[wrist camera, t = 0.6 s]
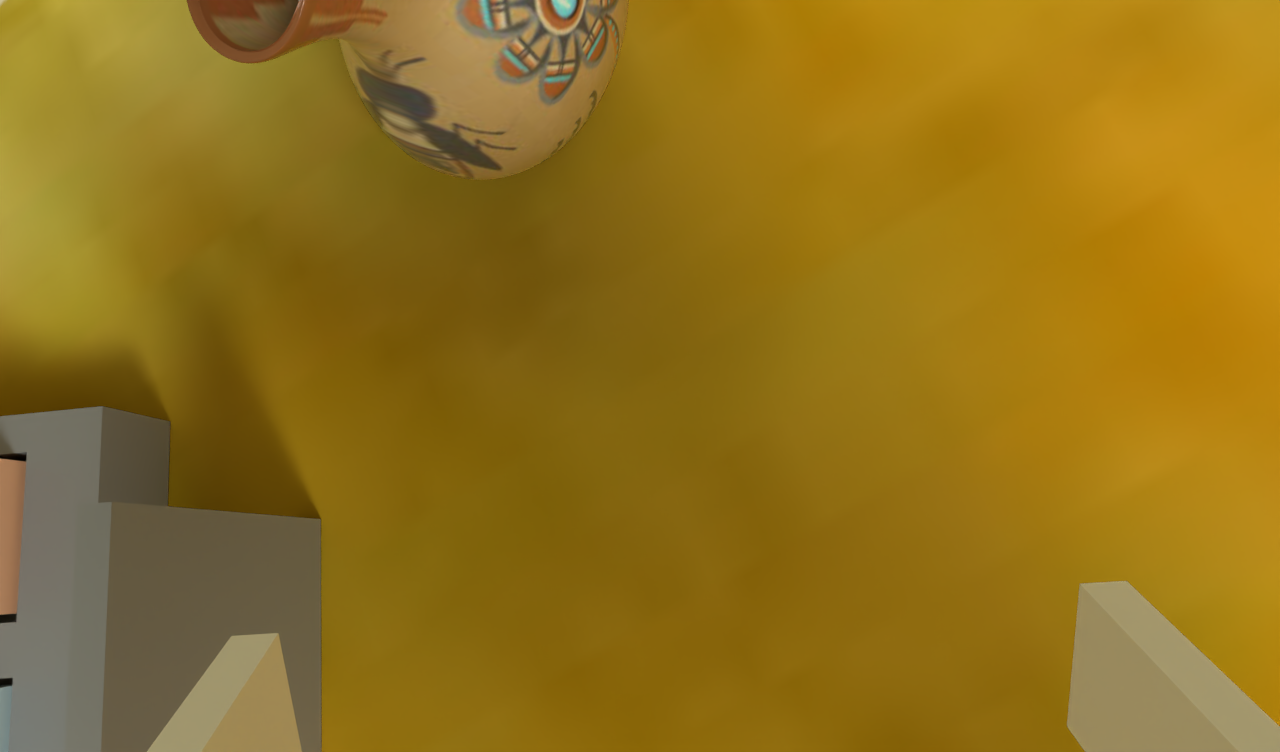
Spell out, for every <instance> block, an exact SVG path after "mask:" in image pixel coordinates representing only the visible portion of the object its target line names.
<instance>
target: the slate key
mask: <svg viewBox="0 0 1280 752" xmlns="http://www.w3.org/2000/svg"><path fill="white" fill-rule="evenodd" d="M11 700H12V684H8V685H0V752H8V748H9V732H10V716H11Z"/></svg>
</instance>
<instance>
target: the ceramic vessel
mask: <svg viewBox="0 0 1280 752" xmlns="http://www.w3.org/2000/svg"><path fill="white" fill-rule="evenodd" d="M187 3H188V7H189V11H190V14H191V16H192V19H193V21H194V23H195V25H196V27H197V29H198V31H199V32H200V34H201V35H202V37H203V38H204V39H205V41H206V42H207V43H208V44H209V45H210V46H211V47H212V48H213V49H214V50H216V51H217V52H218V53H220V54H221V55H223V56H225V57H227V58H229V59H231V60H234V61H237V62H242V63H261V62H266V61H269V60H272V59H275V58H278V57H280V56H282V55H285V54H287V53H289V52H292V51H294V50H296V49H298V48H301V47H303V46H306V45H309V44H312V43H315V42H319V41H324V40H330V39H339V42H340V46H341V50H342V54H343V57H344V60H345V63H346V66H347V69H348V72H349V74H350V77H351V79H352V82H353V84H354V86H355V88H356V90H357V92H358V94H359V96H360V98H361V100H362V102H363V104H364V105H365V107H366V109H367V110H368V112H369V113H370V115H371V116H372V118H373V119H374V120H375V122H376V123H377V124H378V126H379V127H380V128H381V129H382V131H383V132H384V133H385V134H386V135H387V136H388V137H389V138H390V139H391V140H392V141H393V142H394V143H395V144H396V145H397V146H398V147H399V148H400V149H402V150H403V151H404V152H405V153H407V154H408V155H409V156H411V157H412V158H414V159H415V160H417V161H418V162H420V163H422V164H423V165H425V166H427V167H429V168H431V169H433V170H436V171H438V172H441V173H444V174H447V175H450V176H454V177H458V178H464V179H473V180H488V179H498V178H503V177H508V176H512V175H515V174H518V173H521V172H523V171H526V170H528V169H530V168H533V167H535V166H536V165H538V164H540V163H542V162H543V161H545V160H547V159H548V158H550V157H551V156H552V155H554V154H555V153H556V152H558V151H559V150H560V149H561V148H563V147H564V146H565V145H566V144H567V143H568V142H569V141H570V140H571V139H572V138H573V137H574V136H575V135H576V134H577V133H578V131H579V130H580V129H581V128H582V127H583V125H584V124H585V123H586V122H587V120H588V119H589V117H590V116H591V115H592V113H593V112H594V110H595V108H596V107H597V105H598V103H599V102H600V100H601V98H602V96H603V94H604V92H605V90H606V88H607V86H608V84H609V82H610V79H611V77H612V75H613V72H614V69H615V67H616V64H617V61H618V57H619V54H620V50H621V47H622V43H623V38H624V33H625V28H626V22H627V14H628V4H629V0H187Z"/></svg>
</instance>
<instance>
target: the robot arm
mask: <svg viewBox="0 0 1280 752" xmlns="http://www.w3.org/2000/svg"><path fill="white" fill-rule="evenodd" d="M1067 727H1068V728H1069V730H1070V731H1071V733H1072V734H1073V735H1074V737H1075V738H1076V740H1077V741H1078V743H1079V744H1080V745H1081V747H1082V748H1083V750H1084V751H1085V752H1280V727H1279V726H1278V725H1277V724H1276V723H1275V722H1274V721H1273V720H1272V719H1271V718H1270V717H1269V716H1268V715H1267V714H1266V713H1265V712H1264V711H1263V710H1262V709H1260V708H1259V707H1258V706H1257V705H1256V704H1255V703H1254V702H1253V701H1252V700H1251V699H1250V698H1249V697H1248V696H1247V695H1246V694H1245V693H1244V692H1243V691H1242V690H1241V689H1240V688H1238V687H1237V686H1236V685H1235V684H1234V683H1233V682H1232V681H1231V680H1230V679H1229V678H1228V677H1227V676H1226V675H1225V674H1224V673H1223V672H1222V671H1221V670H1220V669H1219V668H1217V667H1216V666H1215V665H1214V664H1213V663H1212V662H1211V661H1210V660H1209V659H1208V658H1207V657H1206V656H1205V655H1204V654H1203V653H1202V652H1201V651H1200V650H1199V649H1198V648H1197V647H1195V646H1194V645H1193V644H1192V643H1191V642H1190V641H1189V640H1188V639H1187V638H1186V637H1185V636H1184V635H1183V634H1182V633H1181V632H1180V631H1179V630H1178V629H1177V628H1176V627H1174V626H1173V625H1172V624H1171V623H1170V622H1169V621H1168V620H1167V619H1166V618H1165V617H1164V616H1163V615H1162V614H1161V613H1160V612H1159V611H1158V610H1157V609H1156V608H1155V607H1153V606H1152V605H1151V604H1150V603H1149V602H1148V601H1147V600H1146V599H1145V598H1144V597H1143V596H1142V595H1141V594H1140V593H1139V592H1138V591H1137V590H1136V589H1135V588H1134V587H1133V586H1131V585H1130V584H1129V583H1128V582H1127V581H1116V582H1099V583H1083V584H1080V587H1079V598H1078V609H1077V620H1076V631H1075V642H1074V653H1073V664H1072V675H1071V686H1070V697H1069V708H1068V719H1067ZM147 752H302V750H301V744H300V739H299V734H298V729H297V724H296V719H295V714H294V709H293V704H292V699H291V694H290V689H289V684H288V679H287V674H286V669H285V664H284V659H283V654H282V649H281V644H280V639H279V634H278V633H270V634H254V635H238V636H231V637H230V639H229V640H228V641H227V643H226V644H225V646H224V647H223V648H222V650H221V651H220V652H219V654H218V655H217V656H216V658H215V659H214V661H213V662H212V663H211V665H210V666H209V667H208V669H207V670H206V671H205V673H204V674H203V676H202V677H201V678H200V680H199V681H198V682H197V684H196V685H195V687H194V688H193V689H192V691H191V692H190V693H189V695H188V696H187V697H186V699H185V700H184V702H183V703H182V704H181V706H180V707H179V708H178V710H177V711H176V712H175V714H174V715H173V717H172V718H171V719H170V721H169V722H168V723H167V725H166V726H165V727H164V729H163V730H162V732H161V733H160V734H159V736H158V737H157V738H156V740H155V741H154V742H153V744H152V745H151V747H150V748H149V749H148V751H147Z"/></svg>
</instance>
